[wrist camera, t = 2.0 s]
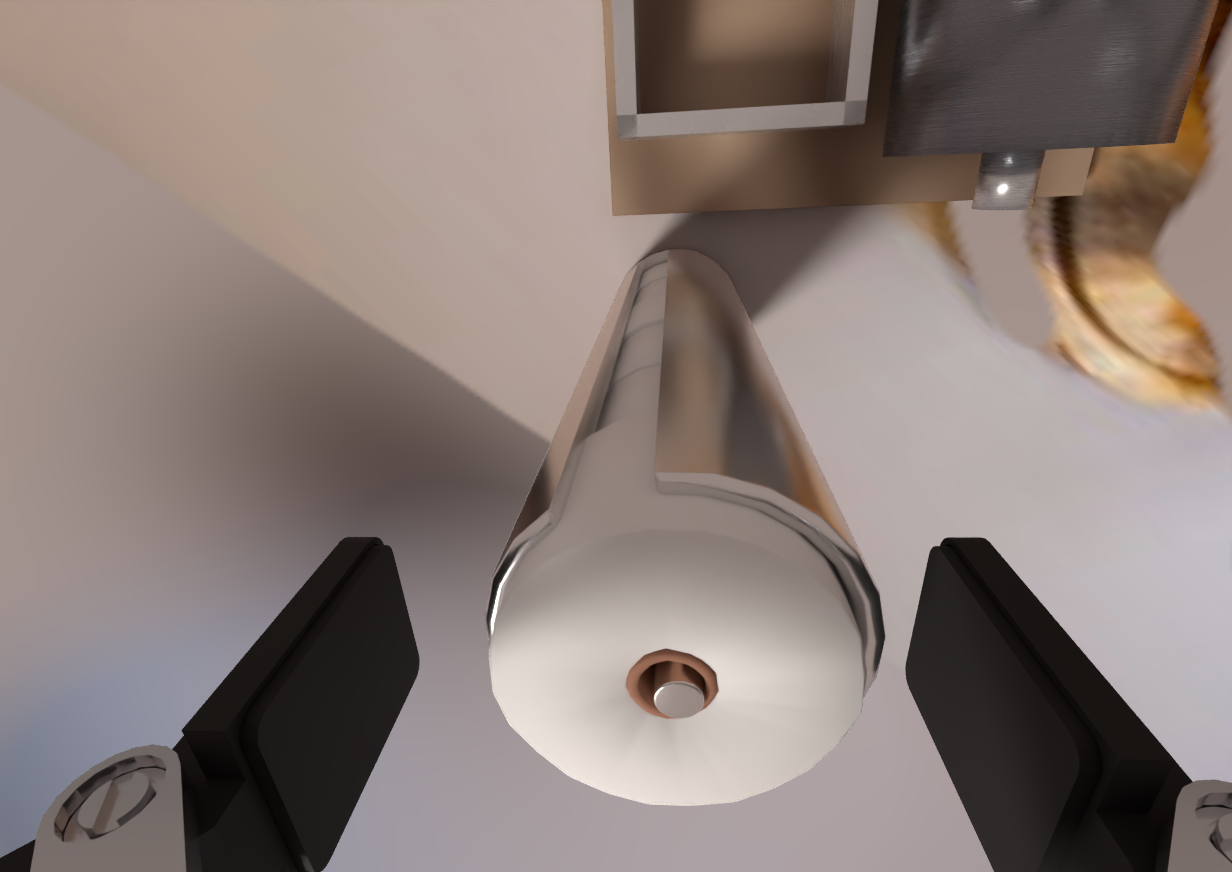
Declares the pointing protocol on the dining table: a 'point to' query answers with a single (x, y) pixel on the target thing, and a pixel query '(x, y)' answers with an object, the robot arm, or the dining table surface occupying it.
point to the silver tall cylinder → (681, 564)
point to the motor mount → (885, 98)
